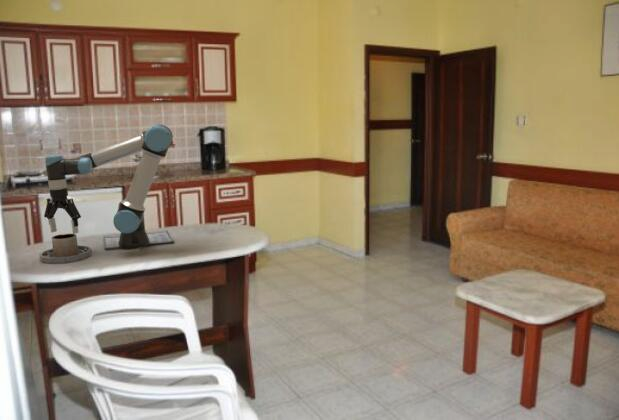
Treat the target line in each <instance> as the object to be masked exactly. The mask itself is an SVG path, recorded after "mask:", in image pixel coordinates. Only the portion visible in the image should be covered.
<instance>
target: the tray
mask: <svg viewBox="0 0 619 420" xmlns="http://www.w3.org/2000/svg"><path fill="white" fill-rule="evenodd" d="M92 250H93V249H92V248H91V247H90V246H88V245H80V244H78V254H77V255H74V256H69V257H59V258H56V257H54V255H53V247H52V248H50V249H47V250H43V251H42V252H41V253H39V254H38V255H39V260H40V262H42V263H44V264H51V265H56V264H57V265H58V264H60V265H61V264H67V263H74V262H78V261H82V260H84V259H87V258H89V257H90V256H91V255H92V252H93V251H92Z"/></svg>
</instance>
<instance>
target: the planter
mask: <svg viewBox="0 0 619 420" xmlns="http://www.w3.org/2000/svg"><path fill="white" fill-rule="evenodd" d="M51 244H52V248H53V255H54V257H56V258H59V257H69V256H74V255H77V254H78V245H79V244H78V236H77V233H75V234H73V233H61V234H57V235H53V236H52V237H51Z"/></svg>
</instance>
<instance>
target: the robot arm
mask: <svg viewBox="0 0 619 420" xmlns="http://www.w3.org/2000/svg"><path fill="white" fill-rule="evenodd" d="M173 137H174V136H173V133H172V130H171V128H169V127H168V126H166V125H164V124H156V125H152V126H150V127H149V128H147V130H145V131H142V132H141V133H140V135H137V136H134V137H132V138H129V139H126V140H124V141H120V142H117V143H115V144H112V145H109V146H106V147H103V148H101V149H97V150H95V151H92V152H90V153H86V154H82V155H80V156H78V157H76V158H64V157H63V155H62V154H51V155H47V156H45V158H44V159H45V168H46V175H47V182H48V189H49V196H50V198H46V207H45V211H44V216H43V217H44V218H46V219H48V225H49V227H50V233H55V232H57V231H58V229H57V225H56V218H55V214H56V213H57V211H58V209H63V210H64V211H65V212H66V213H67V214H68V216H69V217H70V219H71V220H70V222H71V230H72V234H78V233H79V219H81V218H82V216H81V214H80V212H79V210H78V209H77V206H76V204H75V202H74V199H73V198H68V196H69V192H68V188H67V187H68V186H67V185H68V184H67V179H66V177H67V176H70V175H88V174H92V172H93V169H95V168H98V167H101V166H105V165H107V164H110V163H113V162H116V161H118V160H119V161H120V159H124V158H127V157H129V156H133V155H135V154H138V153H141V152H142V155H141V157H140V160H139V162H138V165H137V167H136V170H135V173H134V176H133V178H132V181H131V184H130V186H129V188H128V191H127V194H126V197H125V198H124V199H123V200H121V201H120V202H119V203H118V208H117V211H116V213H115V214H114V216H113V221H112V222H113V226H114V228H115V230H117V231H118V232H120V235H119V241H118V248H119V249H123V250H136V249H141V248H146V247H148V246H149V245H150V244H151V243H150V238H149V236H148V234H147V231H146V228H145V227H146V225H145V215H144V213H145V211H146V208H145V206H144V204H145V201H146V199H147V196H148V193H149V191H150V188H151V186H152V183H153V180H154V179H155V178H154V177H155V175H156V173H157V169H158V167H159V164H160V162H161V160H162V159H165V158H166V156H167V152H168V150H169V147H170V146H171V144H172V142H173Z"/></svg>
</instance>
